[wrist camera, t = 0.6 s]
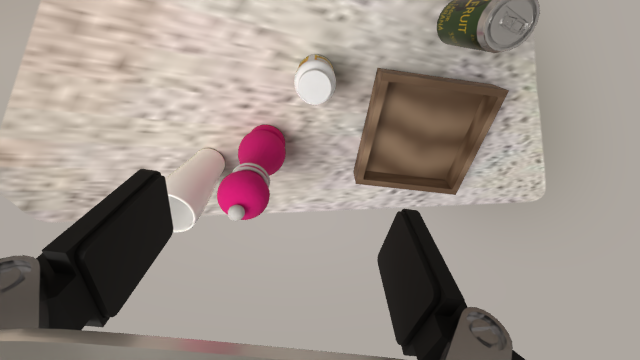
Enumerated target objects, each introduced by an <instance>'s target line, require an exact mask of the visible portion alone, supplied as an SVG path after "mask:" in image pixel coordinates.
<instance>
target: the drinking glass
mask: <svg viewBox="0 0 640 360" xmlns="http://www.w3.org/2000/svg"><path fill="white" fill-rule="evenodd" d="M224 168H225V161H224V158H223V157H222V155H221V154H220V153H219V152H217V151H215V150H213V149H208V148H206V149H201V150H199V151H198V152H197V153H196V154H195V155H194V156H193V157H192V158H190V159H189V160H188V161H187V162H186V163H184V164H183V165H182V166H181V167H179V168H178V169H177V170H175V171H174V172H173V173H172V174H170V175H169V176H168V177H167V178H166V179H165V180H166V186H167V192H168V198H169V204H170V210H171V216H172V222H173V232H183V231H187V230H189V229H190V228H191V227H193V226H194V224H195V223H196V221H197V220H198V219H199V217H200V216H201V214H202V212H203V211H204V209H205V207H206V205H207V203H208V201H209V199H210V197H211V195H212V192H213V190H214V188H215V186H216V184H217V182H218V179H219V177H220V175H221V173H222V172H223V170H224Z"/></svg>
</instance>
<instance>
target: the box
mask: <svg viewBox="0 0 640 360" xmlns="http://www.w3.org/2000/svg"><path fill="white" fill-rule="evenodd" d="M507 93H508V90H506V89H503V88H500V87H498V86H495V85H492V84H485V83H478V82H471V81H464V80H457V79H450V78H443V77H436V76H429V75H422V74H415V73H408V72H401V71H395V70H388V69H381V68H378V69H377V73H376V77H375V82H374V86H373V90H372V94H371V99H370V103H369V107H368V112H367V116H366V120H365V124H364V129H363V133H362V137H361V142H360V146H359V150H358V154H357V159H356V163H355V167H354V177H355V181H356V184H363V185H373V186H382V187H391V188H400V189H409V190H418V191H427V192H436V193H445V194H454V195H456V193H457V191H458V189H459V187H460V185H461V183H462V181H463V179H464V177H465V175H466V173H467V171H468V169H469V167H470V165H471V164H472V162H473V160H474V158H475V156H476V154H477V152H478V150H479V148H480V146H481V144H482V142H483V140H484V138H485V136H486V134H487V132H488V130H489V128H490V126H491V124H492V123H493V121H494V119H495V117H496V115H497V113H498V111H499V109H500V107H501V105H502V103H503V101H504V99H505V97H506V95H507Z"/></svg>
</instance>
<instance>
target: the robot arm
mask: <svg viewBox="0 0 640 360" xmlns="http://www.w3.org/2000/svg"><path fill="white" fill-rule="evenodd" d="M172 233H173V222H172V216H171V210H170V204H169V198H168V192H167V186H166V180H165V177H164V176H161V174H160V172H158V171H153V170H146V169H140V170H139V171H137V172H136V173H135V174H134V175H133V176H131V177H130V178H129V179H128V180H127V181H125V182H124V183H123V184H122V185H120V186H119V187H118V188H117V189H116V190H114V191H113V192H112V193H111V194H109V195H108V196H107V197H106V198H105V199H103V200H102V201H101V202H100V203H99V204H97V205H96V206H95V207H94V208H92V209H91V210H90V211H89V212H88V213H86V214H85V215H84V216H83V217H82V218H80V219H79V220H78V221H77V222H75V223H74V224H73V225H72V226H71V227H70V228H68V229H67V230H66V231H64V232H63V233H62V234H61V235H60V236H58V237H57V238H56V239H55V240H54V241H52V242H51V243H50V244H49V245H47V246H46V247H45V248H44V249H43V250H42V252H43V253H42V254H41V255H40V256H38V258H36V259H35V258H34V257H30V256H24V255H23V256H11V257H6V258H1V259H0V360H403V359H395V358H386V357H377V356H366V355H357V354H346V353H335V352H326V351H314V350H305V349H294V348H283V347H272V346H261V345H250V344H238V343H228V342H216V341H206V340H194V339H182V338H171V337H159V336H148V335H135V334H124V333H110V332H96V331H82V328H83V327H84V326H95V327H104V325H105V324H106V322H107V321H108V320H109V318H110V317H114V316H115V315H117V313H118V312H119V311H120V309H121V308H122V306H123V305H124V304H125V302H126V301H127V299H128V298H129V296H130V295H131V293H132V292H133V291H134V289H135V288H136V286H137V285H138V283H139V282H140V280H141V279H142V278H143V276H144V275H145V273H146V272H147V270H148V269H149V267H150V266H151V265H152V263H153V262H154V260H155V259H156V257H157V256H158V254H159V253H160V252H161V250H162V249H163V247H164V246H165V244H166V243H167V242H168V240H169V239H170V237H171V235H172ZM378 266H379V270H380V274H381V279H382V283H383V287H384V291H385V295H386V299H387V304H388V308H389V311H390V316H391V320H392V325H393V329H394V333H395V337H396V341H397V343H398V344H399V345H401V346H402V350H403V354H404V355H409V356H417V359H418V360H525V359H524V358H522V357H521V356H520V355H518V354H517V353H516V352H515V351H513V350H512V349H513V347H512V340H511V338H510V336H509V333H508V332H507V330H506V329H505V327H504V326H503V325H502V324H501V323H500V322H499V321H498V320H497V319H496V318H495V317H494V316H492V315H491V314H490V313H488V312H486V311H484V310H482V309H479V308H476V307H467V305H466V303H465V301H464V298H463V296H462V294H461V292H460V290H459V288H458V286H457V284H456V283H455V281H454V279H453V277H452V275H451V273H450V271H449V269H448V267H447V265H446V264H445V261H444V259H443V257H442V255H441V254H440V252H439V250H438V248H437V246H436V244H435V242H434V240H433V238H432V236H431V234H430V233H429V230H428V228H427V227H426V225H425V223H424V221H423V219H422V217H421V215H420V213H419V212H418V211H416V210H409V209H403V210H402V211H401V212H397V214H396V216H395V219H394V221H393V223H392V225H391V228H390V230H389V232H388V234H387V237H386V239H385V241H384V243H383V245H382V248H381V250H380V252H379V254H378Z"/></svg>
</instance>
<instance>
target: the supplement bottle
mask: <svg viewBox="0 0 640 360" xmlns="http://www.w3.org/2000/svg"><path fill="white" fill-rule="evenodd" d="M294 86H295V90H296V92H297V94H298V95H299V97H300V98H301V99H302V100H303V101H305V102H306V103H308V104H311V105H319V104H322V103H324V102H326V101H327V100H329V99H330V98H331V96H332V95H333V93H334V91H335V88H336V77H335V73H334V70H333V67H332V65H331V63H330V62H329V60H328V59H327V58H325V57H324V56H321V55H317V54H314V55H310V56H307V57H306V58H305V59H303V61H302V62H301V63H300V65H299V67H298V69H297V72H296V74H295V78H294Z"/></svg>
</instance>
